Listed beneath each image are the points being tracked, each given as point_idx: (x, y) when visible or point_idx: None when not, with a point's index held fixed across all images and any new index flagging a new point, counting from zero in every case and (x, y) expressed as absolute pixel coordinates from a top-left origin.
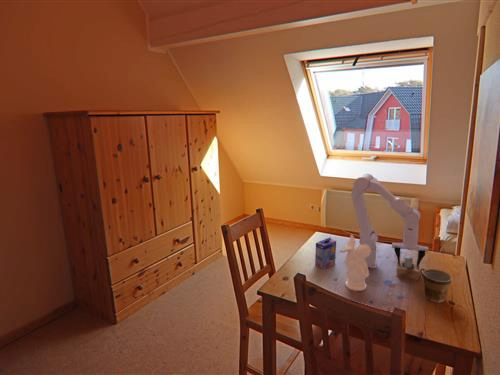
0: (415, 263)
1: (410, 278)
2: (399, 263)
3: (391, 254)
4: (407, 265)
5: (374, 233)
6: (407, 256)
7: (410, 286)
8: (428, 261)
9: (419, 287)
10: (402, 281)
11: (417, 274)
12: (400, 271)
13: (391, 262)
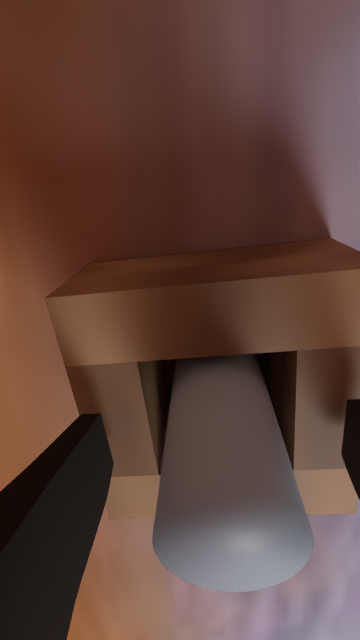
0: (138, 497)
1: (177, 255)
2: (356, 404)
3: (343, 608)
4: (230, 388)
5: None
6: (256, 581)
7: (158, 17)
8: (82, 586)
9: (51, 54)
10: (264, 130)
11: (90, 280)
12: (315, 261)
13: (357, 504)
